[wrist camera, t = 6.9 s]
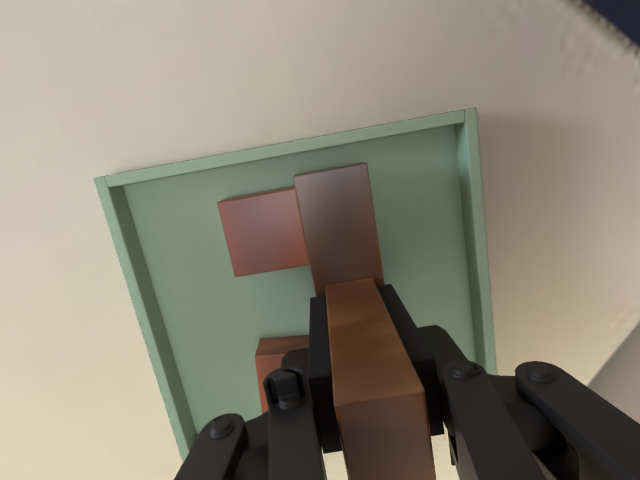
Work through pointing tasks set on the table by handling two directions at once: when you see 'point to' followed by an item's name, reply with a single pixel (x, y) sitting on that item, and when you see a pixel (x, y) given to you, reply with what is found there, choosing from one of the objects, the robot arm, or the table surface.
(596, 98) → the table surface
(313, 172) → the brown piece
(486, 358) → the tray
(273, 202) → the chip
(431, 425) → the robot arm
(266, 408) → the chip
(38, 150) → the table surface
